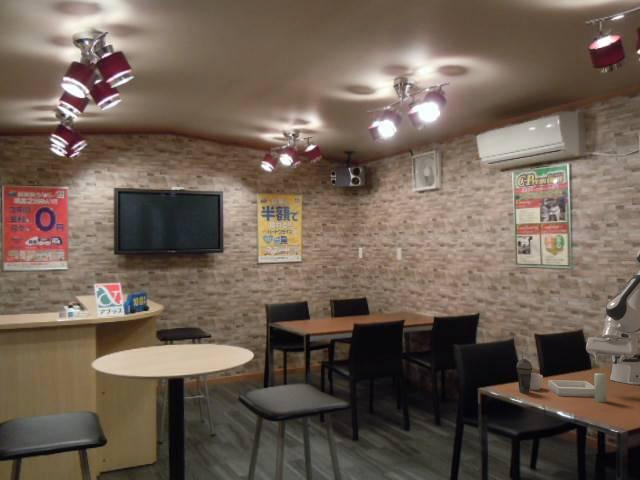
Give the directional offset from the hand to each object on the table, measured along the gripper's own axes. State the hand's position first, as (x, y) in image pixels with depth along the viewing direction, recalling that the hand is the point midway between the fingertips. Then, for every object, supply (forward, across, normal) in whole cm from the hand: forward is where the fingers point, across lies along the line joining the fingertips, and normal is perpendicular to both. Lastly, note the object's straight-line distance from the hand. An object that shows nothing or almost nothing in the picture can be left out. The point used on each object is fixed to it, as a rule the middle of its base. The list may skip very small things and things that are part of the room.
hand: (607, 361), depth 255 cm
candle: (+17, -32, +6) cm, 36 cm away
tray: (+13, -14, +10) cm, 22 cm away
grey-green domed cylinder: (+19, 0, +3) cm, 19 cm away
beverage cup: (+24, -32, -1) cm, 40 cm away
